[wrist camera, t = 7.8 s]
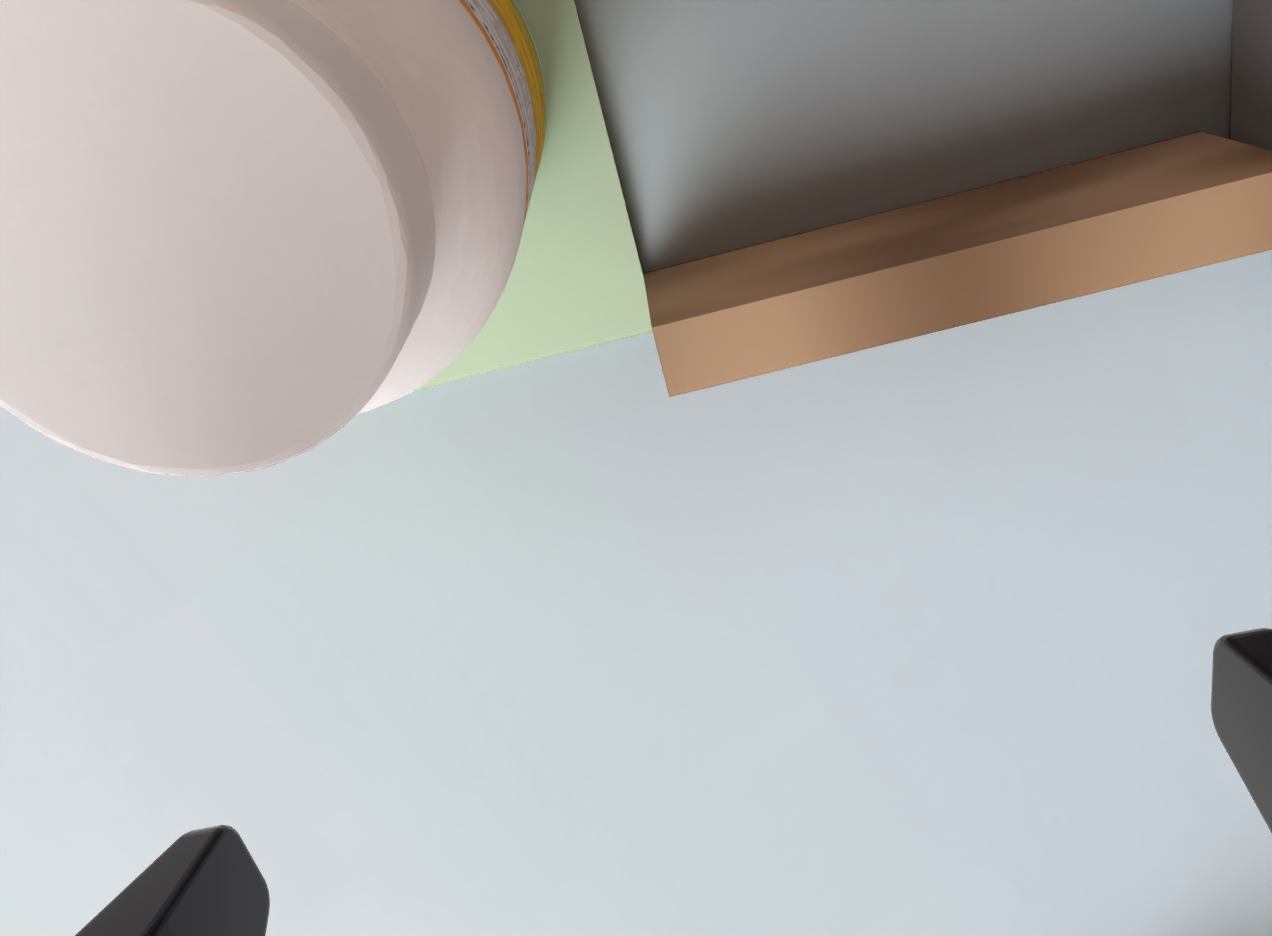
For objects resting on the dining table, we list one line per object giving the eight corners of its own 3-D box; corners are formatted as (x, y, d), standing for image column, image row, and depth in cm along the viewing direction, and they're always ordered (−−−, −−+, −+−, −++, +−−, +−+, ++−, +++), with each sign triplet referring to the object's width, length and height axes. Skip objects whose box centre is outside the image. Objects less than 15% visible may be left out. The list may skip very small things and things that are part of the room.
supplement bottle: (293, 295, 18) (7, 613, 9) (155, -35, 15) (-415, -31, 7) (587, 219, 17) (581, 476, 9) (492, -132, 15) (354, -263, 6)
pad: (490, -331, 14) (488, -337, 14) (656, 324, 19) (656, 329, 18) (33, -191, 15) (22, -194, 14) (300, 414, 19) (295, 420, 19)
